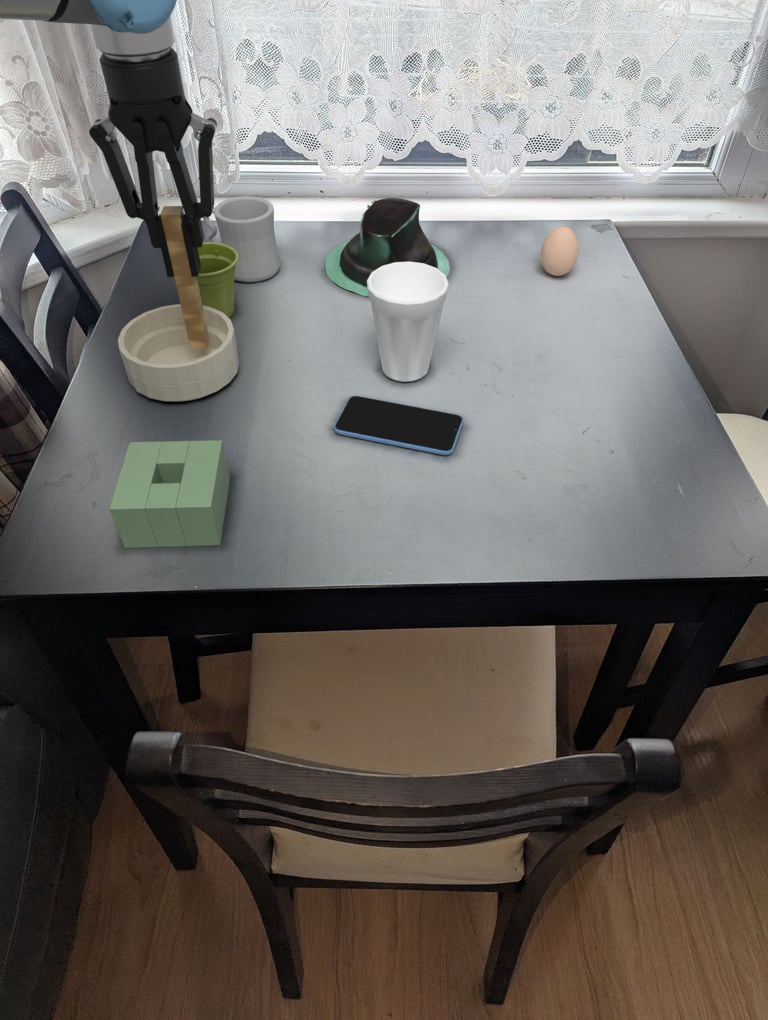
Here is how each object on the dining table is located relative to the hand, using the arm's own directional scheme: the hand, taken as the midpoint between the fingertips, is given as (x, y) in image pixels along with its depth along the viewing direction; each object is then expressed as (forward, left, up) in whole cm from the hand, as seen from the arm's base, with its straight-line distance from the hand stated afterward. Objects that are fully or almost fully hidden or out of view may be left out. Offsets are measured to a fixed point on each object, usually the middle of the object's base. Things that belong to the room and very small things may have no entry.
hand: (184, 270), depth 89 cm
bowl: (-3, 0, -14) cm, 14 cm away
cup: (+21, -17, -14) cm, 31 cm away
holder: (-15, -23, -14) cm, 31 cm away
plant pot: (+7, +11, -14) cm, 19 cm away
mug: (+17, +20, -14) cm, 30 cm away
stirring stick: (0, 0, -10) cm, 10 cm away
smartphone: (+13, -26, -14) cm, 32 cm away
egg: (+56, -11, -14) cm, 59 cm away
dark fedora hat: (+36, +7, -14) cm, 39 cm away
